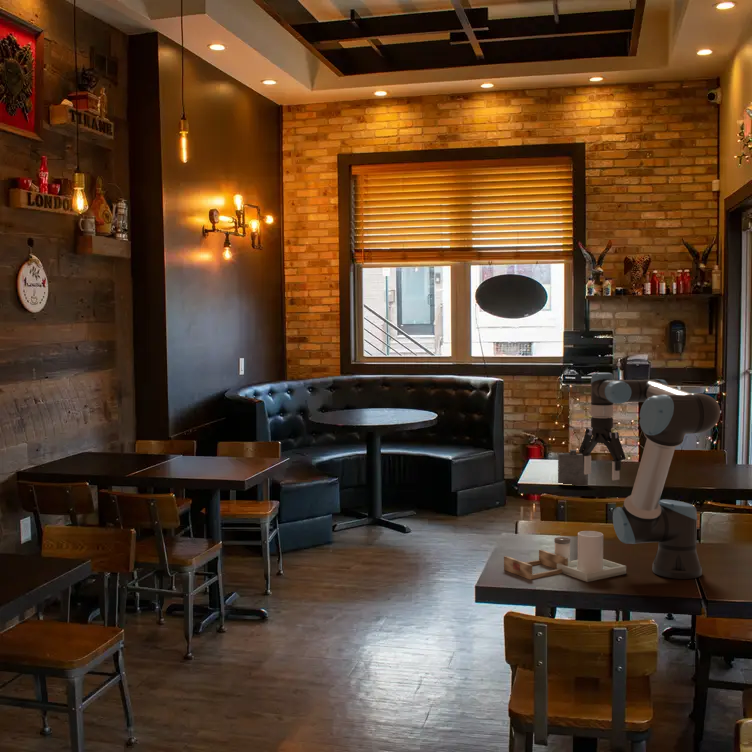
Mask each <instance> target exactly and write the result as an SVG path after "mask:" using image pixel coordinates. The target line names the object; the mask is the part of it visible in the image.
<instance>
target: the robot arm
mask: <svg viewBox="0 0 752 752" xmlns="http://www.w3.org/2000/svg"><path fill="white" fill-rule="evenodd" d="M590 379H591V380H590V416H591V417H590V427H591V428H585V431H584V436H583V439H582V442H581V443H580V446H579V449H578V454H582V455H583V464H584V474H585V475H586V474H588V475H591V474H592V455H591V453H592V451H594V449H595V447H596V446H597V445H598V444H601V445H604V446H606V448H607V449H608V452H609V453H610V455H611V457H612V459H613V460H612V461H611V480H612V481H620V471H621V470H622V468H621V467H622V464H621V463H622V461H624V460H626V459H627V458H626V455H625V452H624V449H623V446H622V443H621V440H620V433H619V432H618V431H615V432H614V431H612V428H614V419H613V415H614V404H616V405H617V404H624V403H642V405H641V408H640V411H639V418H640V419H639V426H640V428H641V431H642V432H643V435H644V437H645V438H646V440H645V444H644V448H643V452H642V455H641V459H640V463H639V466H638V470H637V473H636V476H635V480H634V484H633V487H632V491H631V494H630V495H628V496H626V497H625V499H624V501H623V505H622V506H617V507H615V508H614V509H613V511H612V524H613V528H614V532H615V535H616V536H617V538H618V540H619V541H620V542H622V543H623V544H632V545H636V544H648V543H649V544H650V543H651V544H652V543H658V548H657V551H656V554H655V556H654V560H653V561H652V573H654V574H655V575H658V576H660V577H663V578H670V579H678V580H690V579H697V578H700V577H702V574H703V572H702V571H703V570H702V569H703V567H702V565H701V563H700V560H699V555H698V552H697V535H698V534H697V533H698V532H697V527H698V526H697V524H698V515H697V508H696V507H695V505H693V504H691V503H688V502H684V501H680V500H673V499H661V496H662V493H663V490H664V486H665V483H666V480H667V477H668V474H669V471H670V466H671V463H672V460H673V457H674V453H675V450H676V447H679V446H681V445H682V444H683V441H684V438H685V435H686V434H702V433H706V432H708V431H710V430H711V429H713V428H714V427H715V426H716V424H717V423H718V422H719V420H720V417H721V408H720V405H719V402H717V400H715V398H714V397H712V396H710V395H708V394H704V393H702V392H695V393H691V392H688V391H686V390H683V389H679V388H676V387H674V386H671V385H669V383H668V382H667V381H666V380H665V379H658V378H653V379H618V380H616V379H615V378H614V374H613V373H612V372H593V373H592V374H591V378H590Z"/></svg>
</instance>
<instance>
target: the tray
mask: <svg viewBox="0 0 752 752" xmlns="http://www.w3.org/2000/svg"><path fill="white" fill-rule="evenodd" d="M577 562H578V559H575V560H570V561H568V566H566V565H563V564H562V563H558V564H557V569H562V573H561V574H563V575H567V576H570V577H572V578H575V579H578V580H580V581H583V582H586V583H588V582H593V581H598V580H603V579H608V578H612V577H616V576H617V577H618V576H621V575H626V574H627V565H624V564H621V563H617V562H614V561H611V560H607V559H604V558H603V570H599V571H594V572H589V573H586V572H583V571H580V570H578V569H577Z"/></svg>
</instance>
